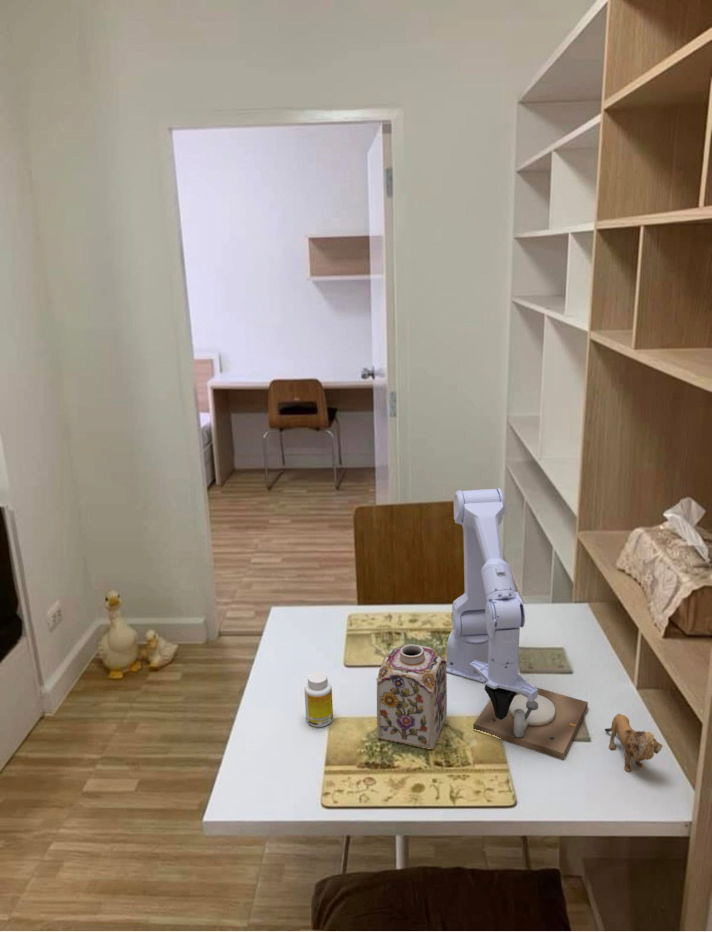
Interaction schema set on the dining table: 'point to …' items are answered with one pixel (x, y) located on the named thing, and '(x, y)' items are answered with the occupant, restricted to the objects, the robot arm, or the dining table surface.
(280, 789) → the dining table surface
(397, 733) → the decorative jar
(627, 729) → the lion figurine
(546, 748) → the board
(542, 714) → the dial
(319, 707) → the supplement bottle
